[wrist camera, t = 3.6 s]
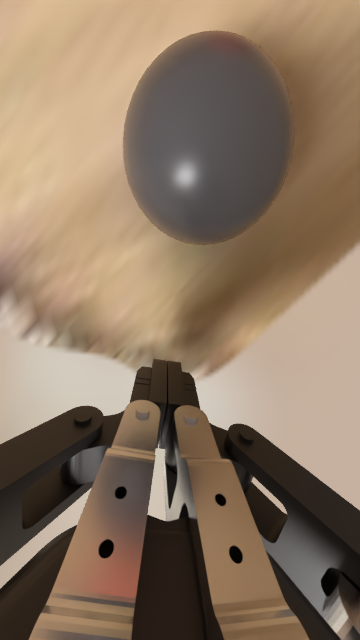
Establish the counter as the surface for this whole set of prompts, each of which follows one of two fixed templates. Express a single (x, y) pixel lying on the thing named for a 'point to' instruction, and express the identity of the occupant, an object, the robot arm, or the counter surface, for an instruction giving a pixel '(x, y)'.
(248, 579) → the robot arm
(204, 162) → the dark gray ball
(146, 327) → the counter surface
